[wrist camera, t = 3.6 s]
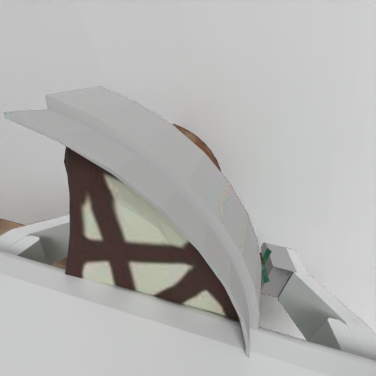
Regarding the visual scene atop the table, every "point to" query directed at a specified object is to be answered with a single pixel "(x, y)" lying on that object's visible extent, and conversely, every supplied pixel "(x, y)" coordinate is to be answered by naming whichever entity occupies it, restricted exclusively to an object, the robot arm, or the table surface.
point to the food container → (151, 206)
